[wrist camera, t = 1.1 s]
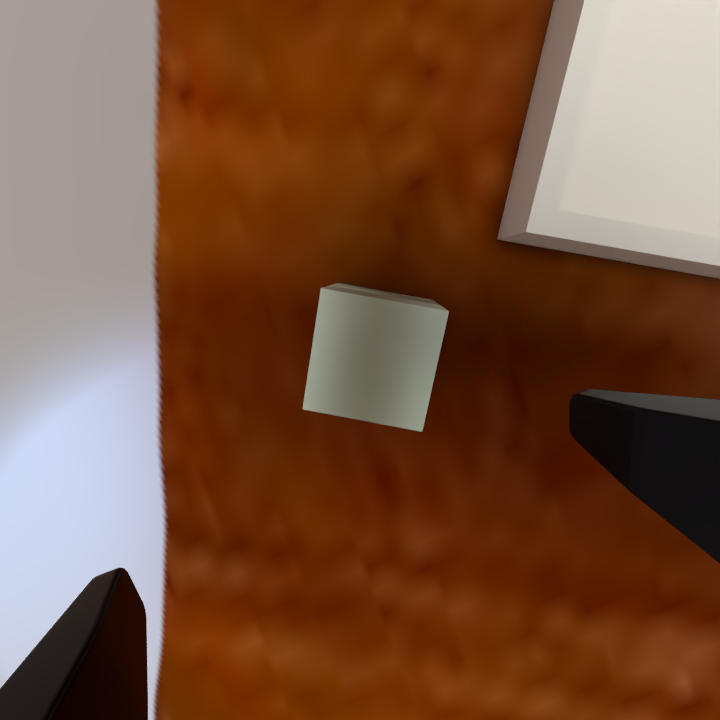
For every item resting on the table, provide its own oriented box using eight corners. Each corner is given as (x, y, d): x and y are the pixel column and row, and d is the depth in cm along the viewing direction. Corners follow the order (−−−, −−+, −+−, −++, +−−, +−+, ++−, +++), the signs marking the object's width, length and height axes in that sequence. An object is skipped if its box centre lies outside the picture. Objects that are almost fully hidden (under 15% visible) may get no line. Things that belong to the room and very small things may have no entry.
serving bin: (876, -22, 18) (1036, -116, 13) (758, 285, 21) (858, 290, 16) (570, -70, 18) (629, -177, 14) (496, 239, 21) (525, 231, 17)
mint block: (432, 299, 22) (449, 311, 16) (413, 390, 23) (422, 431, 17) (338, 282, 22) (320, 287, 16) (324, 373, 23) (302, 409, 17)
